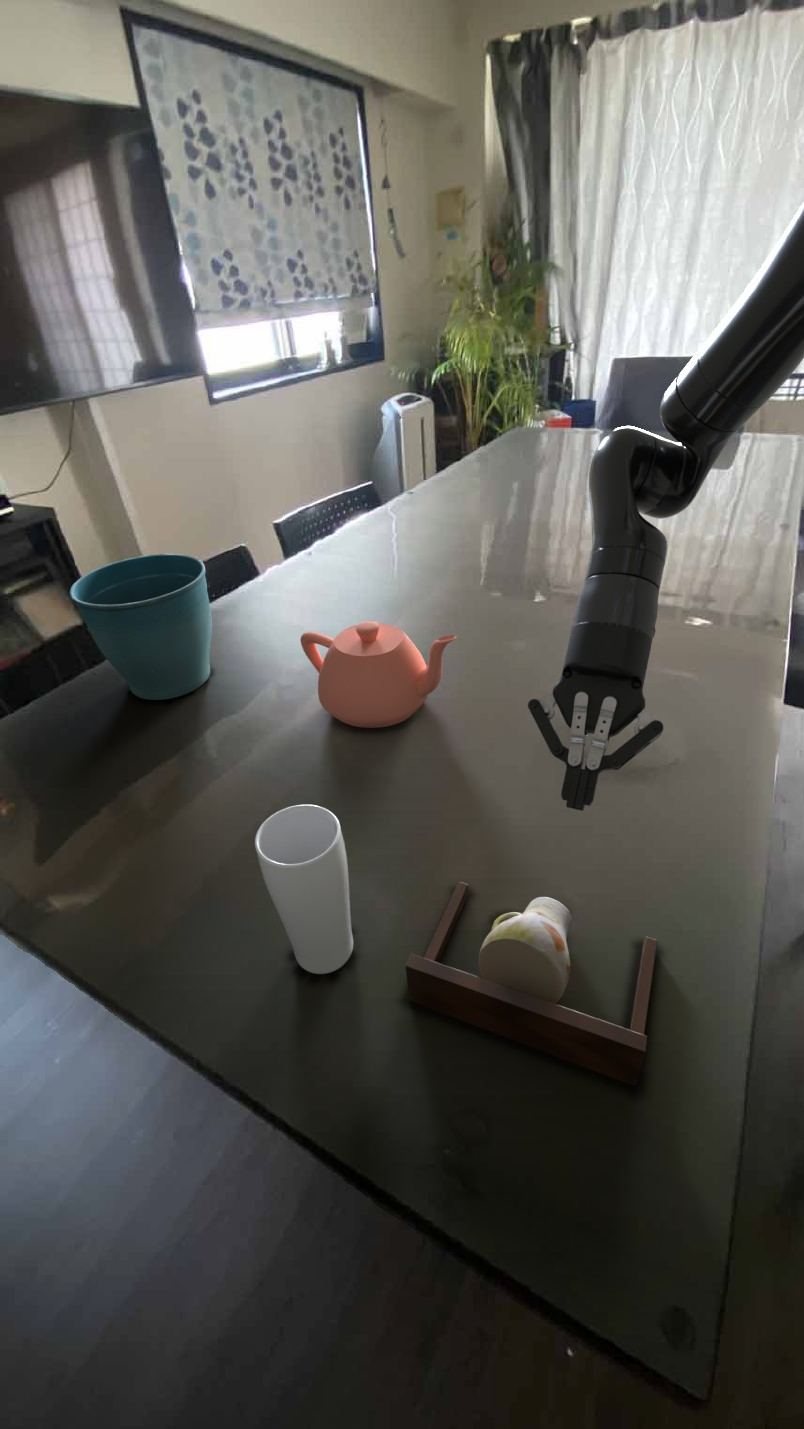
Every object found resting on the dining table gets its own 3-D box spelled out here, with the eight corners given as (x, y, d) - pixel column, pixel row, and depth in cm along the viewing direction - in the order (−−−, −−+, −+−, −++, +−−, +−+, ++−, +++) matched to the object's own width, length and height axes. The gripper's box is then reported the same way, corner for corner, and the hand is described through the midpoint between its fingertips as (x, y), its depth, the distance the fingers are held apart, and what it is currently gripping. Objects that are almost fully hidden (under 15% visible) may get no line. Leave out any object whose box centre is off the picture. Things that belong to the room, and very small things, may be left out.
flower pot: (172, 642, 109) (142, 546, 99) (255, 663, 101) (231, 560, 91) (85, 697, 96) (40, 593, 86) (172, 725, 89) (134, 614, 79)
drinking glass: (335, 997, 54) (307, 880, 45) (272, 965, 57) (234, 849, 48) (376, 935, 59) (358, 818, 50) (316, 908, 61) (289, 793, 53)
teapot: (472, 686, 91) (471, 608, 84) (441, 750, 80) (437, 666, 73) (332, 667, 98) (321, 594, 91) (286, 724, 87) (269, 645, 80)
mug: (590, 927, 58) (608, 913, 49) (538, 1026, 55) (547, 1031, 46) (517, 882, 60) (522, 861, 51) (463, 975, 58) (458, 970, 48)
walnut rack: (654, 950, 55) (664, 913, 52) (635, 1086, 46) (645, 1052, 44) (458, 891, 62) (457, 855, 59) (409, 1000, 53) (405, 965, 50)
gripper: (538, 610, 60) (498, 790, 59) (688, 628, 56) (650, 825, 54) (548, 634, 67) (513, 795, 65) (682, 652, 62) (649, 827, 61)
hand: (575, 808), depth 60 cm, fingers closed
